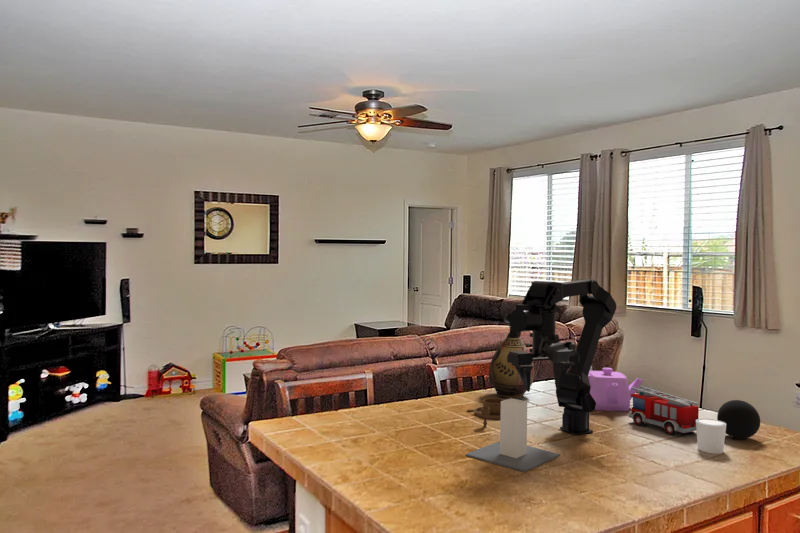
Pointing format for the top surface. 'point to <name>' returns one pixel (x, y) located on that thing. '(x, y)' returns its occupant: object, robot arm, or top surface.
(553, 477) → the top surface
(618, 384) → the teakettle
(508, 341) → the ceramic jug
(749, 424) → the decorative ball
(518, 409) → the off-white post
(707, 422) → the white short cylinder
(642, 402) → the toy fire truck
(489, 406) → the place setting
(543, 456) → the charcoal rubber mat
